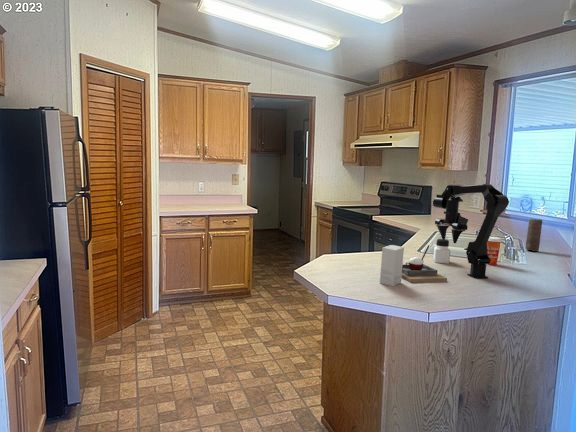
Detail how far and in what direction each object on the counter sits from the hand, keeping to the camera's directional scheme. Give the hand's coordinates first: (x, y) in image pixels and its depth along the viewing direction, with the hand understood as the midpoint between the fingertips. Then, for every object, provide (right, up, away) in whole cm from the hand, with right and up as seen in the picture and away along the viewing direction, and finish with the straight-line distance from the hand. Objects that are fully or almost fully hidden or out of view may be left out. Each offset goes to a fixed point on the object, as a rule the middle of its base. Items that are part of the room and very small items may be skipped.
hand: (449, 241), depth 215 cm
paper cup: (+27, -13, +13) cm, 32 cm away
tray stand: (-22, -14, -17) cm, 31 cm away
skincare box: (-36, -16, -32) cm, 51 cm away
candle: (+71, -9, +54) cm, 89 cm away
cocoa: (-21, -13, -17) cm, 30 cm away
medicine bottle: (+1, -12, +13) cm, 18 cm away
